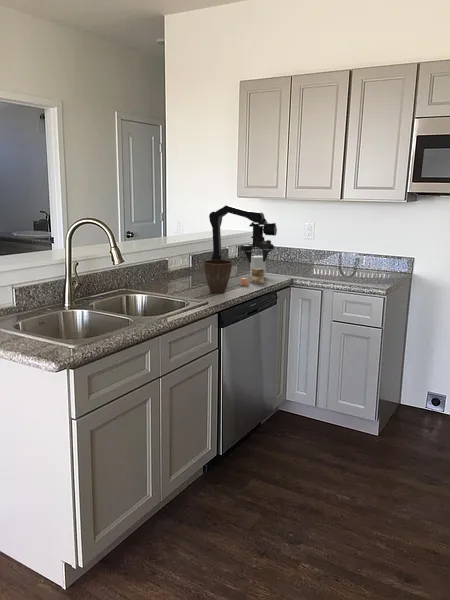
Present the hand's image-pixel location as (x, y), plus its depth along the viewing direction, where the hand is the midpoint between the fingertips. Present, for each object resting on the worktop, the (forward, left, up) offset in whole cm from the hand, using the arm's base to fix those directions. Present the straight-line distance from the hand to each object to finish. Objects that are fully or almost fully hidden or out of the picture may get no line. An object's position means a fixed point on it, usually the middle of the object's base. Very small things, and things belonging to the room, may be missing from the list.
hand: (257, 262), depth 287 cm
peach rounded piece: (-9, -4, -12) cm, 16 cm away
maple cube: (+1, 0, -12) cm, 12 cm away
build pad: (+1, 0, -12) cm, 12 cm away
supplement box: (+9, +17, -12) cm, 23 cm away
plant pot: (-29, -15, -12) cm, 35 cm away
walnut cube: (+1, 0, -8) cm, 8 cm away
